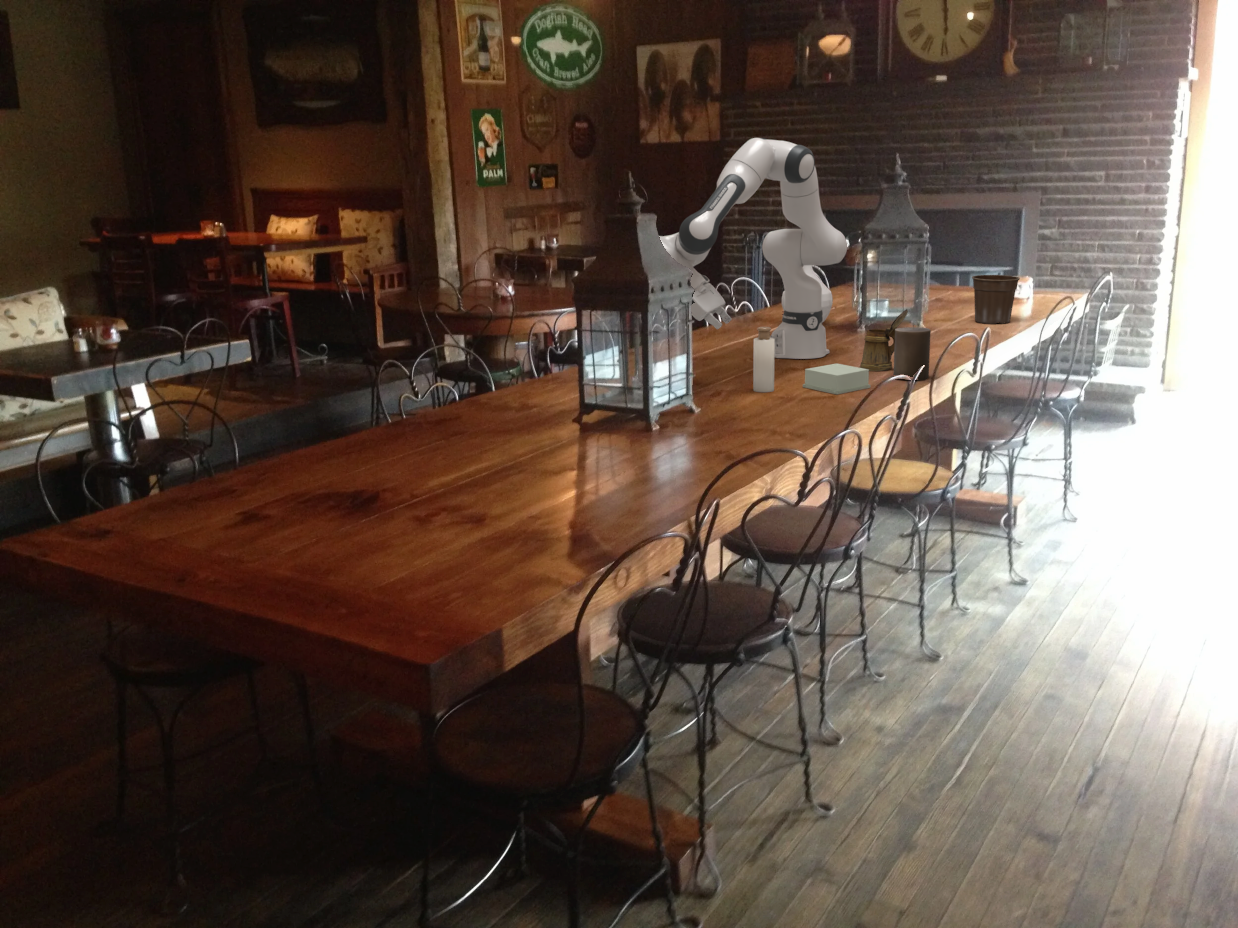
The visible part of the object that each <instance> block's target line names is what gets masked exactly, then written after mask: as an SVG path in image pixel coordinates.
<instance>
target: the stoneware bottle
mask: <svg viewBox="0 0 1238 928" xmlns="http://www.w3.org/2000/svg"><path fill="white" fill-rule="evenodd" d="M756 328H757V331H758V337H755V338H753V362H752V363H753V366H752V367H753V369H752V370H753V371H752V372H753V375H752V376H753V377H752V381H753V384H752V385H753V386H752V387H753V389H752V390H753V392H755V393H756V392H757V393H770V392H774V391H775V357H774V348H775V339H774V338H770V336H771V335H770V334H771V332H770V331H772V327H770V326H760V327H759V326H758V327H756Z"/></svg>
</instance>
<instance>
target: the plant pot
mask: <svg viewBox="0 0 1238 928" xmlns="http://www.w3.org/2000/svg"><path fill="white" fill-rule="evenodd" d="M971 278H972V281H973V282H972V283H973V285H972V288H973V289H974V291H973V295H974V322H977V323H980V324H984V325H985V324H986V325H996V324H1000V325H1002V324H1003V325H1005V324H1009V323H1010V322H1011V317H1012V311H1013V307H1014V300H1015V295H1016V290H1018V289H1017V288H1018V283H1019V280H1020V279H1021V278H1020V277H1019V276H1014V275H1006V274H978V275H973V276H971Z"/></svg>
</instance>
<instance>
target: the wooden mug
mask: <svg viewBox="0 0 1238 928" xmlns="http://www.w3.org/2000/svg"><path fill="white" fill-rule="evenodd" d="M908 313H909V310H908V308H906V309H905V310H903V311H902V312H901V313H900V314H898V316H897V317H896V318H895V319H894V320H893V322H892V323H891V326H890V328H886V329H882V328H872V329H867V330H866V334H865V336H864V347H863V351H862V352H863V353H862V356H861V357H862V358H861V361H860V365H859V368H863V369H869V371H870V372H885V371H890V370H892V368H893V362H892V361H891V360H892V357H893V355H894V349H895V329H897V328H899V326H900V325H901V324H902V322H903V321H904V319H905V318H906V317H907V315H908ZM891 339H892V342H893V343H892V344H890V345H889V343H890V342H889V341H891Z"/></svg>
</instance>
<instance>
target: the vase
mask: <svg viewBox="0 0 1238 928" xmlns="http://www.w3.org/2000/svg"><path fill="white" fill-rule="evenodd" d="M803 270H804V272H805V273H806V275H808V276H810V277H812V278H814V279H815V280H817V281H818V282H819V283H820V285H821V288H822V297H821V310H822V311H823V321H822V322H821V323H822V324H823V323H824V322H825V321H826V320H827V318H828V316H829V315H830V313H831V310H832V307H833V294H832V291H831V289H830V288H828V286H826V284H824V282H823V281H822V280H821V278H820V277H819V276H818V275H817V274H816V273H815V271H814V268H813V265H804V266H803ZM781 295H782V296H781V307H782V309H783V311H785V290H784V291H782V294H781Z"/></svg>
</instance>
